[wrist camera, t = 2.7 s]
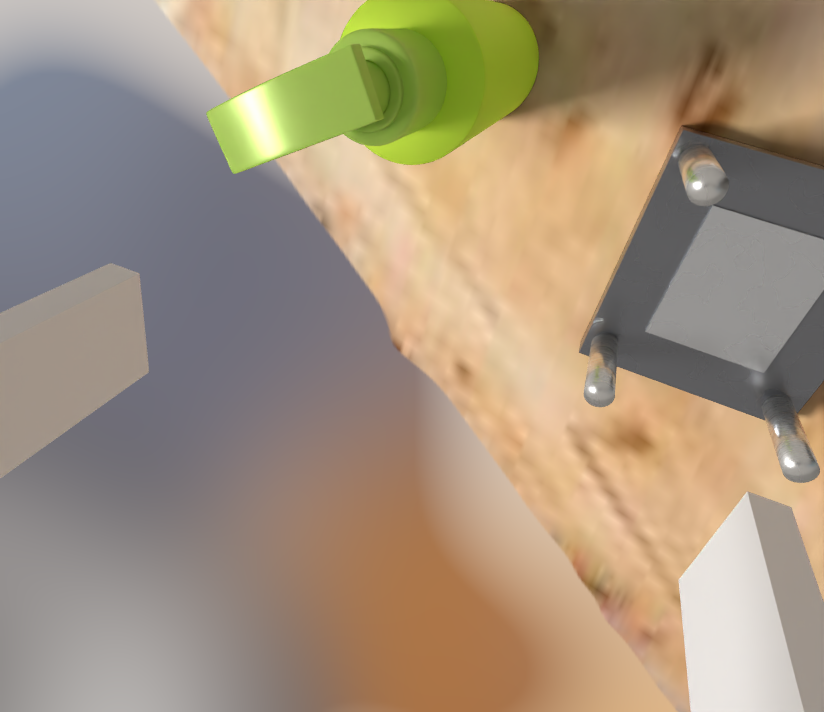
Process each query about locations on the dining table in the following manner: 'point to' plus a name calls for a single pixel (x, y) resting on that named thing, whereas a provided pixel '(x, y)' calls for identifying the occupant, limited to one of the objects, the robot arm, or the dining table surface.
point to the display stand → (722, 289)
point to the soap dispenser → (391, 85)
